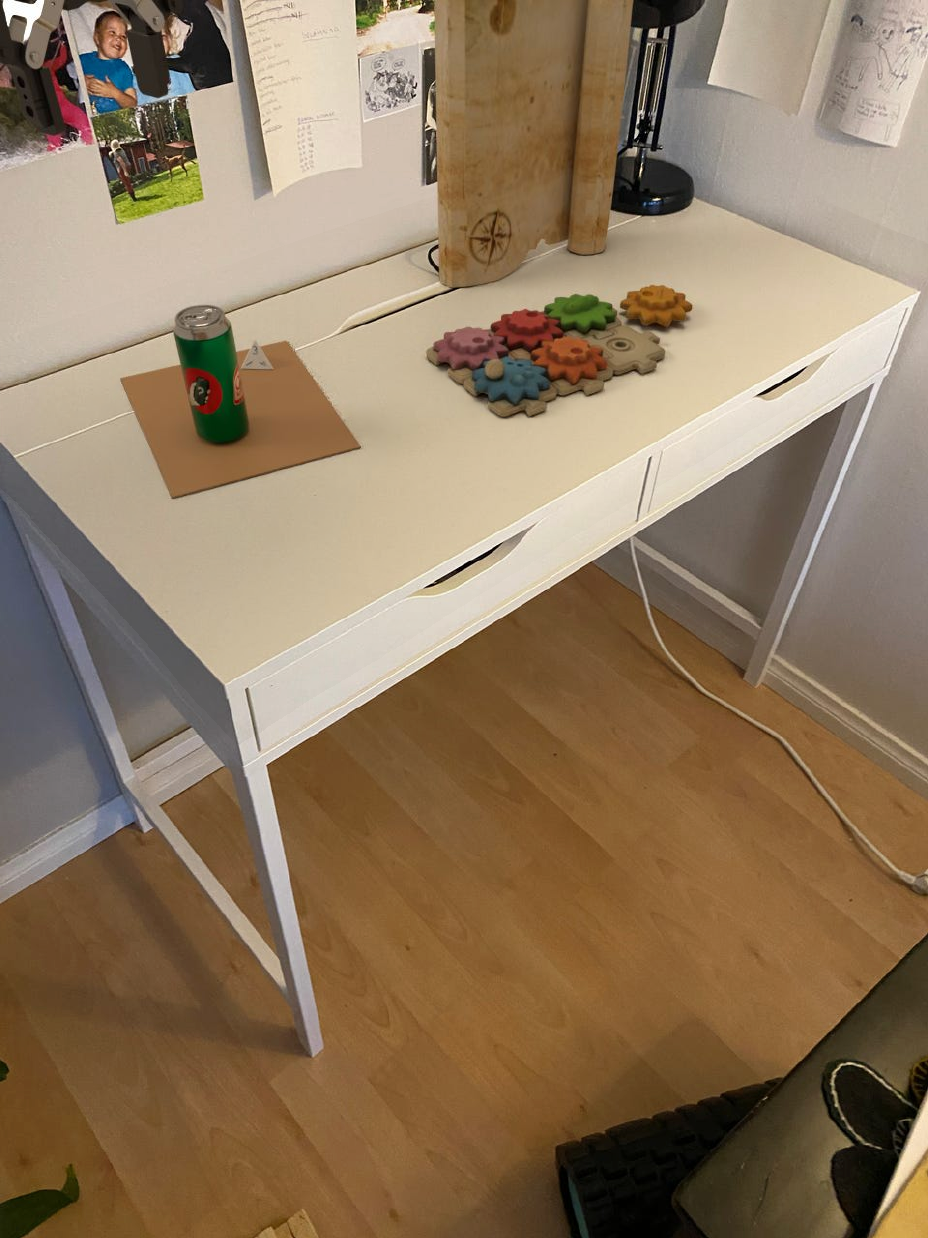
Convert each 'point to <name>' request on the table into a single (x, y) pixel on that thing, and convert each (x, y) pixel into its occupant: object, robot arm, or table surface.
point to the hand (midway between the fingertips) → (104, 112)
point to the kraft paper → (276, 437)
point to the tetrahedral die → (256, 359)
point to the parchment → (525, 128)
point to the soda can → (211, 373)
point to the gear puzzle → (557, 348)
